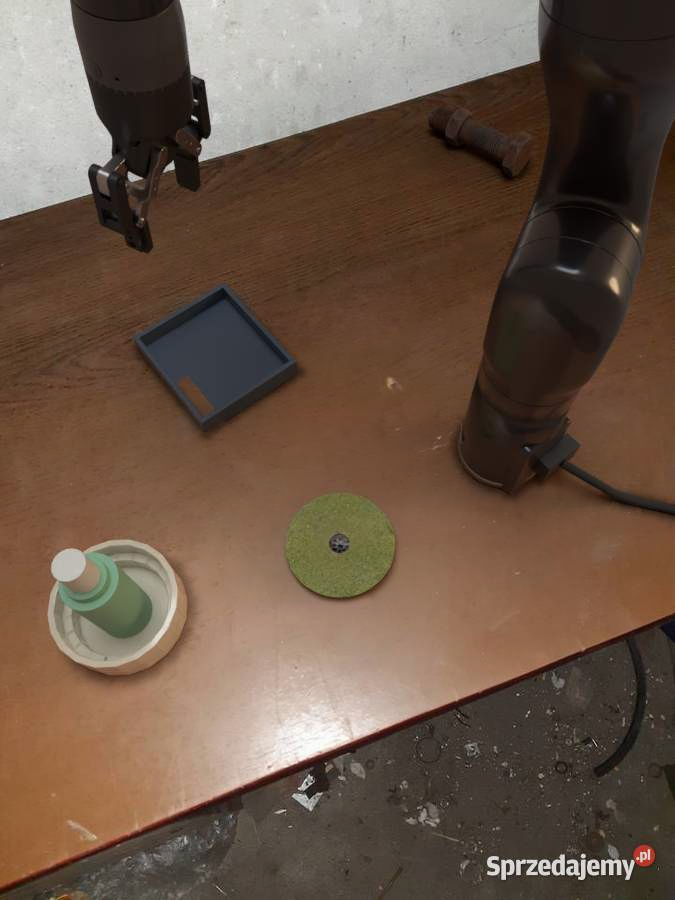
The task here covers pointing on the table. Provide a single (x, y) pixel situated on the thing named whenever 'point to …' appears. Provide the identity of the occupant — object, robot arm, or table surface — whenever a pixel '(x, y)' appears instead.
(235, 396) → the tray
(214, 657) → the table surface
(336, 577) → the mat
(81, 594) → the bottle
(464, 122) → the bolt
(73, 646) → the bowl
